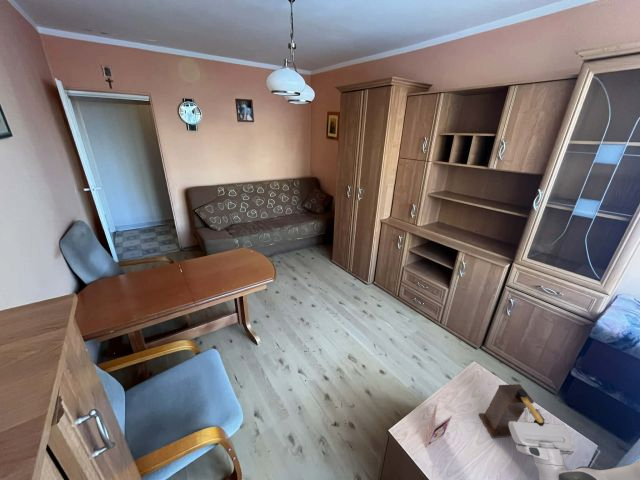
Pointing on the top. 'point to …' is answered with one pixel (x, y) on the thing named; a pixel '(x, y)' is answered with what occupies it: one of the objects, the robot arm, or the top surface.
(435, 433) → the greeting card
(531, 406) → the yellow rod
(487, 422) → the pedestal
